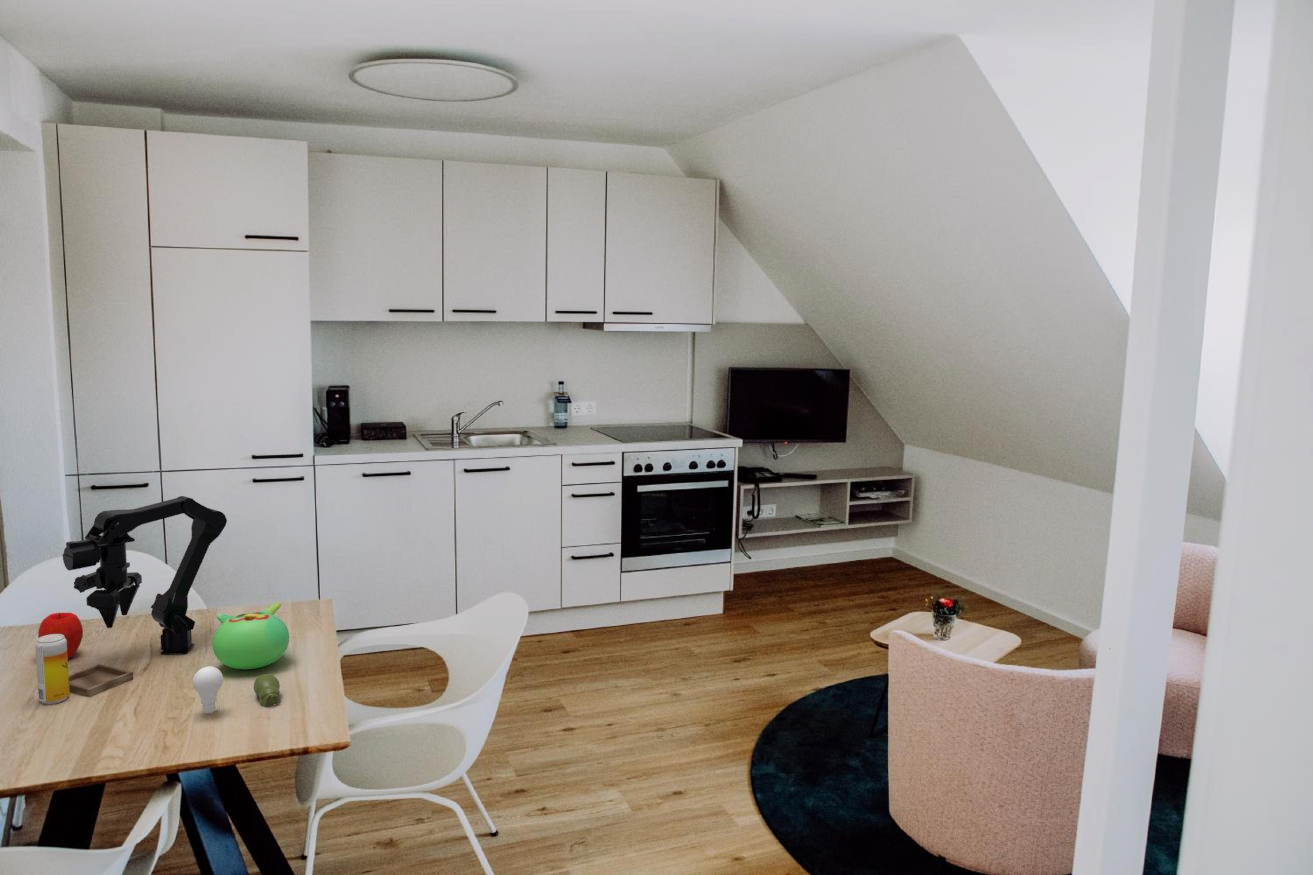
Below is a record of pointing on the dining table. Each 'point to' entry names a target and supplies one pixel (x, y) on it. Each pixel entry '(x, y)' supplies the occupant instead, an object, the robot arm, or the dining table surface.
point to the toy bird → (250, 639)
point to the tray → (97, 680)
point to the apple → (63, 629)
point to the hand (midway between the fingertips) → (117, 621)
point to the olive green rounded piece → (267, 689)
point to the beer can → (52, 668)
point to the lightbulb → (208, 687)
